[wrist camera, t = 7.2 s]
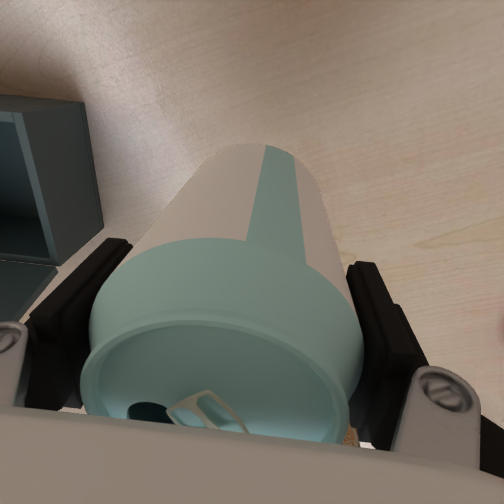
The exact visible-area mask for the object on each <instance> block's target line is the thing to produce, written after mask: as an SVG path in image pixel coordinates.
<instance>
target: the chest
mask: <svg viewBox="0 0 504 504" xmlns="http://www.w3.org/2000/svg"><path fill="white" fill-rule="evenodd" d="M103 228H104V224H103V218H102V212H101V205H100V199H99V193H98V186H97V180H96V174H95V168H94V161H93V155H92V149H91V142H90V136H89V130H88V124H87V117H86V111H85V105H84V102H75V101H65V100H55V99H45V98H34V97H24V96H14V95H4V94H0V260H6V261H15V262H24V263H33V264H41V265H50V266H59V267H60V266H61V265H62V264H64V263H65V262H66V261H67V260H68V259H69V258H70V257H71V256H73V255H74V254H75V253H76V252H77V251H78V250H79V249H80V248H82V247H83V246H84V245H85V244H86V243H87V242H88V241H90V240H91V239H92V238H93V237H94V236H95V235H96V234H97V233H99V232H100V231H101V230H102V229H103Z"/></svg>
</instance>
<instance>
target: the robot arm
mask: <svg viewBox="0 0 504 504" xmlns="http://www.w3.org/2000/svg"><path fill="white" fill-rule="evenodd" d="M132 248H133V246H132V244H128V241H127V240H126V239H119V238H107V239H106V240H105V241H104V242H103V243H102V244H101V245H100V246H99V247H98V248H97V249H96V250H95V251H94V252H93V253H91V254H90V255H89V256H88V257H87V258H86V259H85V260H84V261H83V262H82V263H81V264H80V265H79V266H78V267H77V268H76V269H75V270H74V271H73V272H72V273H71V274H70V275H69V276H68V277H67V278H66V279H65V280H64V281H63V282H62V283H61V284H60V285H59V286H58V287H57V288H56V289H55V290H54V291H53V292H52V293H51V294H49V295H48V296H47V297H46V298H45V299H44V300H43V301H42V302H41V303H40V304H39V305H38V306H37V307H36V308H35V309H34V310H33V311H32V312H31V313H30V314H29V316H30V318H29V319H28V320H27V321H26V322H25V323H24V324H22V323H20V322H14V321H6V322H0V504H504V429H502V428H501V427H499V426H498V425H496V424H495V423H493V422H492V421H490V420H489V419H487V418H486V417H484V416H483V415H481V405H480V400H479V397H478V395H477V394H476V392H475V390H474V389H473V388H472V387H471V386H470V385H469V384H468V382H466V381H465V380H464V379H462V378H461V377H460V376H459V375H457V374H455V373H453V372H451V371H449V370H447V369H444V368H441V367H437V366H429V363H428V361H427V359H426V357H425V355H424V353H423V351H422V349H421V347H420V345H419V343H418V341H417V339H416V337H415V335H414V333H413V331H412V329H411V327H410V325H409V322H408V320H407V318H406V316H405V314H404V312H403V310H402V308H401V307H400V305H398V304H394V303H393V301H392V299H391V297H390V294H389V292H388V290H387V288H386V286H385V284H384V282H383V279H382V277H381V275H380V273H379V271H378V269H377V266H376V264H375V263H373V262H363V261H356V262H355V264H354V265H349V267H348V270H347V274H346V280H347V284H348V287H349V290H350V294H351V297H352V300H353V304H354V307H355V311H356V314H357V317H358V321H359V324H360V327H361V331H362V334H363V341H364V361H363V369H362V373H361V376H360V380H359V382H358V385H357V387H356V389H355V391H354V393H353V394H352V396H351V398H350V399H349V401H348V406H349V423H350V426H351V427H352V428H356V429H357V434H358V439H359V441H360V442H368V443H371V445H372V446H373V447H374V448H375V449H369V448H362V447H354V446H347V445H339V444H331V443H323V442H315V441H307V440H299V439H291V438H283V437H275V436H266V435H258V434H250V433H242V432H234V431H225V430H217V429H208V428H200V427H191V426H183V425H174V424H166V423H157V422H149V421H140V420H131V419H123V418H114V417H105V416H96V415H87V414H78V413H69V412H60V411H58V410H60V409H62V408H63V407H69V408H78V409H81V407H82V406H83V402H82V398H81V392H80V378H81V373H82V369H83V366H84V364H85V362H86V360H87V358H88V357H89V355H90V353H91V350H90V343H89V330H88V329H89V319H90V315H91V310H92V307H93V304H94V301H95V299H96V296H97V294H98V292H99V290H100V289H101V287H102V285H103V284H104V283H105V281H106V280H107V279H108V277H109V276H110V275H111V274H112V273H113V271H114V270H115V269H116V268H117V266H118V265H119V264H120V263H121V262H122V260H123V259H124V258H125V257H126V256H127V254H128V253H129V252H130V251H131V250H132Z"/></svg>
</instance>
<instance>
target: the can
mask: <svg viewBox="0 0 504 504" xmlns="http://www.w3.org/2000/svg"><path fill="white" fill-rule="evenodd" d="M88 330H89V343H90V350H91V353H90V355H89V357H88V358H87V360H86V362H85V364H84V366H83V369H82V373H81V378H80V392H81V398H82V402H83V405H84V407H85V410H86V412H87V414H88V415H96V416H105V417H114V418H123V419H131V420H140V421H149V422H157V423H166V424H174V425H183V426H191V427H200V428H208V429H217V430H225V431H234V432H242V433H250V434H258V435H266V436H275V437H283V438H291V439H299V440H307V441H315V442H323V443H331V444H339V445H341V443H342V442H343V440H344V438H345V435H346V433H347V429H348V425H349V406H348V401H349V399H350V398H351V396H352V394H353V393H354V391H355V389H356V387H357V385H358V382H359V380H360V376H361V373H362V369H363V361H364V341H363V334H362V331H361V327H360V324H359V321H358V317H357V314H356V311H355V307H354V304H353V300H352V297H351V294H350V290H349V287H348V284H347V280H346V277H345V273H344V270H343V267H342V263H341V260H340V257H339V253H338V250H337V246H336V243H335V240H334V236H333V233H332V230H331V226H330V223H329V220H328V216H327V213H326V209H325V206H324V203H323V199H322V196H321V193H320V189H319V187H318V184H317V182H316V180H315V179H314V177H313V175H312V174H311V173H310V171H309V170H308V169H307V168H306V167H305V165H303V164H302V163H301V162H300V161H299V160H298V159H297V158H295V157H294V156H292V155H291V154H289V153H287V152H285V151H283V150H281V149H278V148H276V147H272V146H268V145H263V144H241V145H236V146H232V147H229V148H226V149H224V150H221V151H219V152H218V153H216V154H214V155H213V156H211V157H210V158H209V159H207V160H206V161H205V162H204V163H203V164H202V165H201V166H200V167H199V169H198V170H197V171H196V172H195V173H194V175H193V176H192V177H191V178H190V179H189V181H188V182H187V183H186V184H185V185H184V187H183V188H182V189H181V190H180V192H179V193H178V194H177V195H176V196H175V198H174V199H173V200H172V201H171V202H170V204H169V205H168V206H167V207H166V208H165V210H164V211H163V212H162V213H161V214H160V216H159V217H158V218H157V219H156V221H155V222H154V223H153V224H152V225H151V227H150V228H149V229H148V230H147V231H146V233H145V234H144V235H143V236H142V237H141V239H140V240H139V241H138V242H137V243H136V245H135V246H134V247H133V248H132V250H131V251H130V252H129V253H128V254H127V256H126V257H125V258H124V259H123V260H122V262H121V263H120V264H119V265H118V266H117V268H116V269H115V270H114V271H113V273H112V274H111V275H110V276H109V277H108V279H107V280H106V281H105V283H104V284H103V285H102V287H101V289H100V290H99V292H98V294H97V296H96V299H95V301H94V304H93V307H92V310H91V315H90V319H89V329H88Z"/></svg>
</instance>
